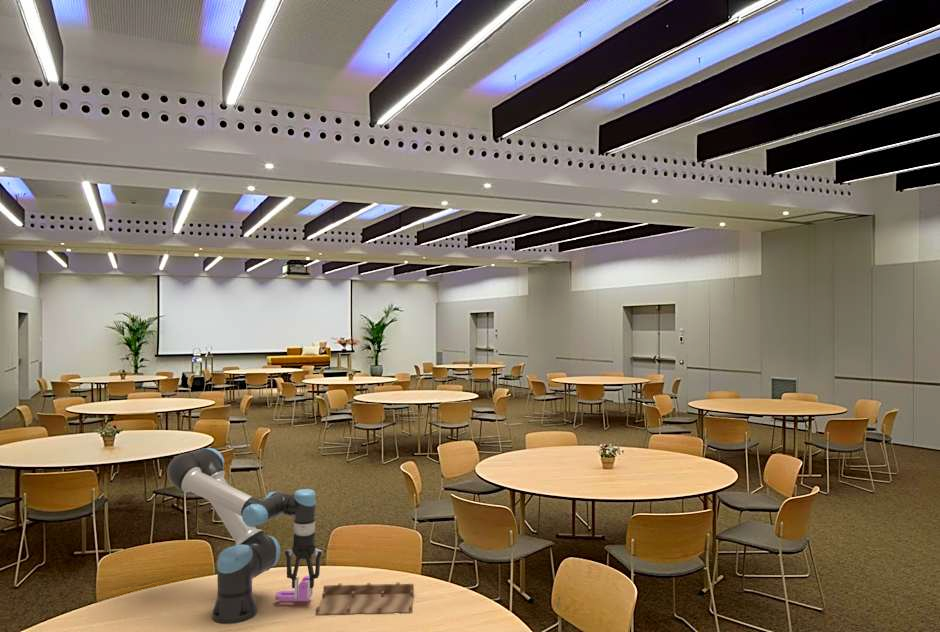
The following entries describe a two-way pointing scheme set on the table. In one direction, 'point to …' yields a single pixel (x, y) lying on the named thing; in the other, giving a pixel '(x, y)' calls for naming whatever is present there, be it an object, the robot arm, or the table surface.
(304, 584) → the bracket
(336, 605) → the ledge
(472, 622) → the table surface
